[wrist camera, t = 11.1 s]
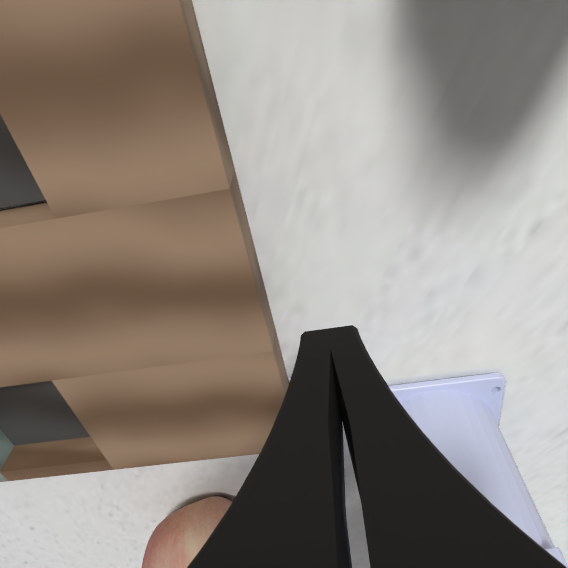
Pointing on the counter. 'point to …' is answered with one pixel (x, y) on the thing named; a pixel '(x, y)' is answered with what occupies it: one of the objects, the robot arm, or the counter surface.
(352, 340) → the robot arm
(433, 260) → the counter surface
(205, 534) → the apple
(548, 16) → the counter surface
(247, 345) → the board
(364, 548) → the counter surface
